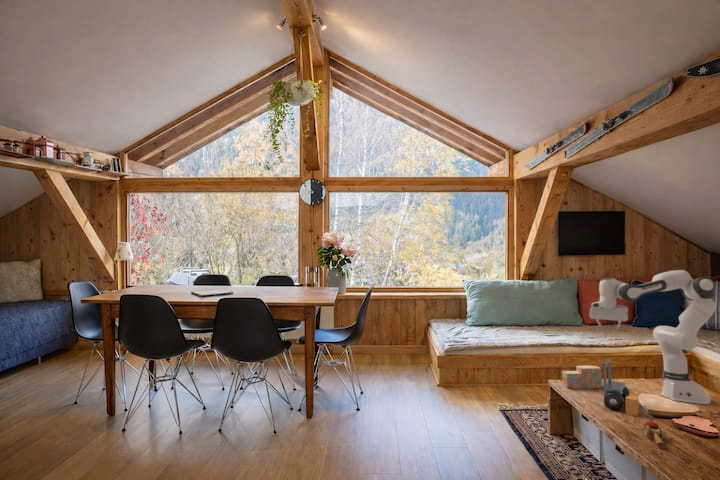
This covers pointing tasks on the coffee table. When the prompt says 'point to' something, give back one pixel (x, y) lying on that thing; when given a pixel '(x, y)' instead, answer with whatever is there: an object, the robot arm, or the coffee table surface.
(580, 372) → the stack of blocks
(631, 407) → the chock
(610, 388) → the trolley
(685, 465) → the coffee table surface
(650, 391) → the coffee table surface
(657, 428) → the kendama
